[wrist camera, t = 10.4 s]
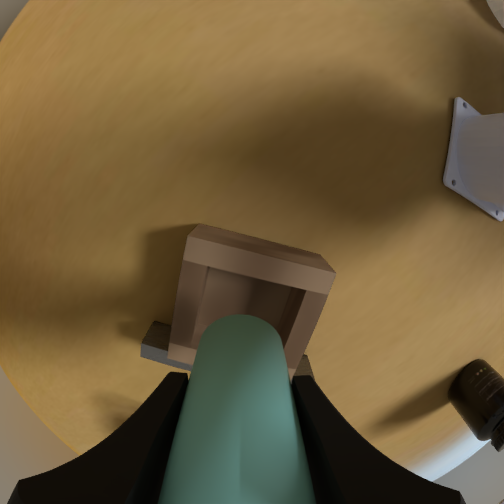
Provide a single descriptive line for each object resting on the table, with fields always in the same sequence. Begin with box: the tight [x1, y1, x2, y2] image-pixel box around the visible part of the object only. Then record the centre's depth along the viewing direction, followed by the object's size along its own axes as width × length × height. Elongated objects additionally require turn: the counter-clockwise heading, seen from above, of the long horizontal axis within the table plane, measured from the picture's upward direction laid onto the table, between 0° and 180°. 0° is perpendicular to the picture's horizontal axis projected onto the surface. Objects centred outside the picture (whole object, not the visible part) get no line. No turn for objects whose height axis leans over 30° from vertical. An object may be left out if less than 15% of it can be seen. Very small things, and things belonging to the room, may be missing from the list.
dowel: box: [158, 314, 316, 504], centre depth 7 cm, size 4×4×9 cm
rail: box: [140, 321, 315, 384], centre depth 18 cm, size 12×3×3 cm, turn 75°
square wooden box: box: [167, 224, 336, 381], centre depth 16 cm, size 8×8×4 cm
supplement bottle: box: [448, 359, 504, 452], centre depth 17 cm, size 7×7×12 cm
